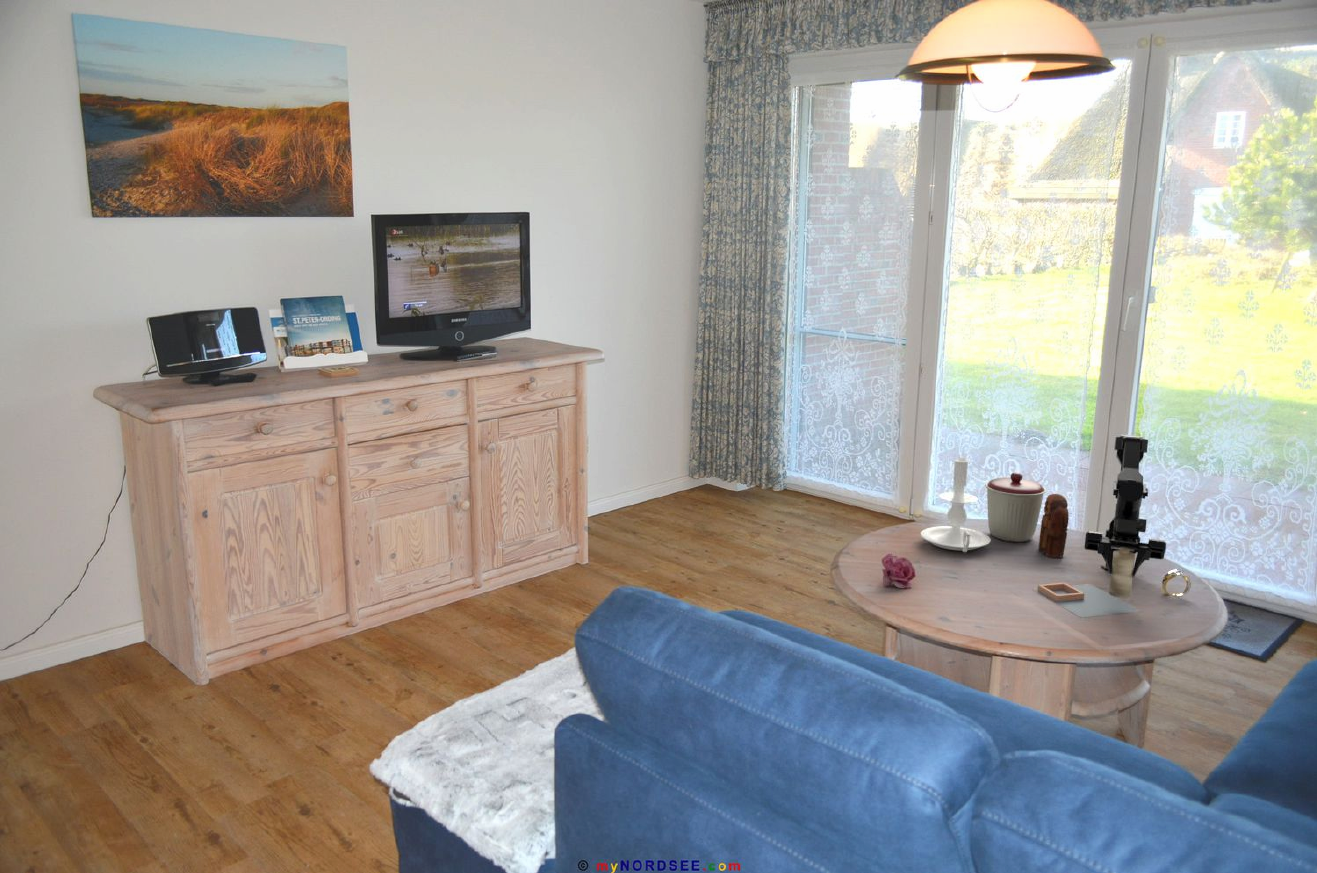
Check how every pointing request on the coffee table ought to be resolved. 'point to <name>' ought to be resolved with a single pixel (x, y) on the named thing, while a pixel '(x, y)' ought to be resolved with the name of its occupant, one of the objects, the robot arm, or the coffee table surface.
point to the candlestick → (957, 517)
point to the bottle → (1122, 573)
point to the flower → (897, 571)
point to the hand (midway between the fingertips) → (1122, 574)
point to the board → (1084, 600)
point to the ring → (1170, 576)
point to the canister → (1013, 507)
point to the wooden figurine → (1054, 526)
